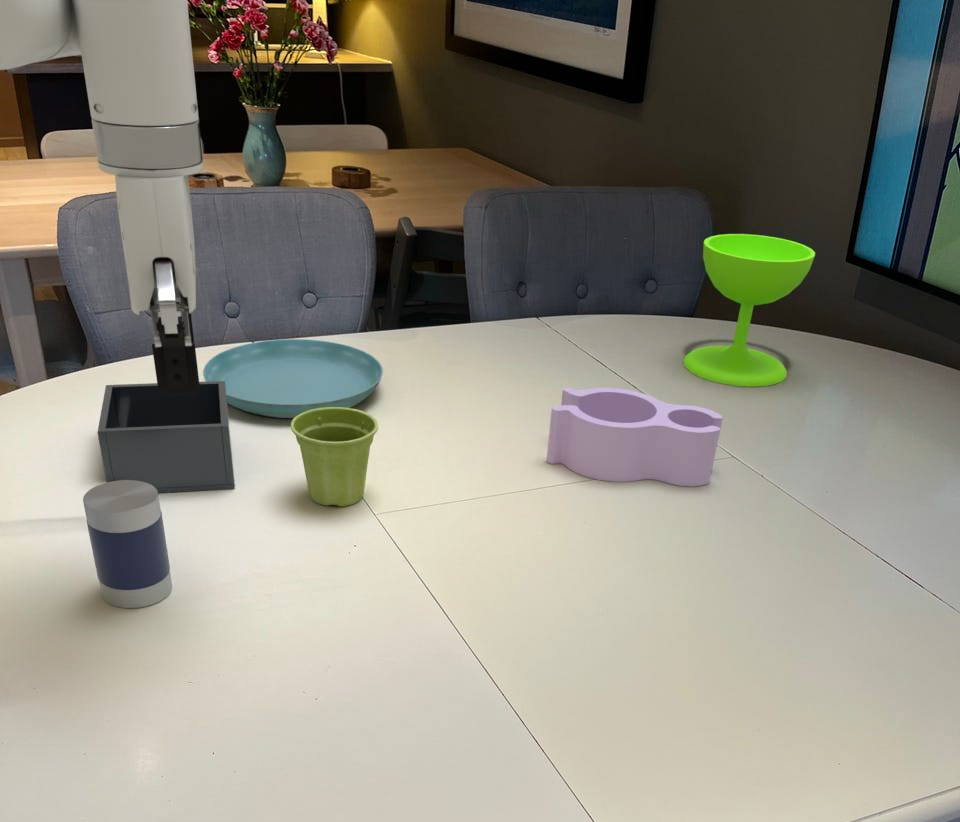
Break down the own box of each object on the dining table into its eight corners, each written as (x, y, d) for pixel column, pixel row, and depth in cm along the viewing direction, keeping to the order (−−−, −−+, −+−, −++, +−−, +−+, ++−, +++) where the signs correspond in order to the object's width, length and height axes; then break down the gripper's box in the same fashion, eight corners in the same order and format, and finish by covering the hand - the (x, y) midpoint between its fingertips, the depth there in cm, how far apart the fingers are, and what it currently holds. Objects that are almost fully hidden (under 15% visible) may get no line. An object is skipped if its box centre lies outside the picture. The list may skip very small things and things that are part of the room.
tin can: (98, 611, 91) (79, 515, 85) (103, 575, 96) (85, 481, 90) (172, 605, 92) (157, 510, 87) (173, 569, 97) (159, 477, 92)
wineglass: (718, 390, 146) (743, 264, 135) (664, 354, 158) (683, 236, 147) (808, 381, 151) (838, 259, 140) (748, 347, 163) (772, 232, 152)
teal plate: (169, 388, 135) (166, 364, 134) (304, 349, 151) (303, 328, 149) (283, 442, 123) (282, 417, 121) (418, 394, 138) (419, 371, 136)
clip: (715, 456, 126) (725, 404, 122) (706, 497, 116) (717, 443, 112) (562, 431, 130) (567, 380, 126) (541, 470, 120) (546, 416, 116)
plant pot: (395, 496, 113) (396, 425, 108) (332, 523, 107) (329, 449, 102) (341, 470, 118) (338, 400, 113) (277, 494, 112) (272, 421, 107)
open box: (108, 496, 109) (97, 431, 105) (116, 445, 120) (105, 384, 116) (234, 488, 112) (228, 425, 108) (230, 439, 123) (225, 380, 119)
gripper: (99, 127, 79) (131, 339, 89) (90, 169, 65) (130, 414, 75) (196, 128, 81) (217, 336, 91) (207, 170, 67) (231, 409, 77)
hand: (178, 371), depth 83 cm, fingers open, 9 cm apart
